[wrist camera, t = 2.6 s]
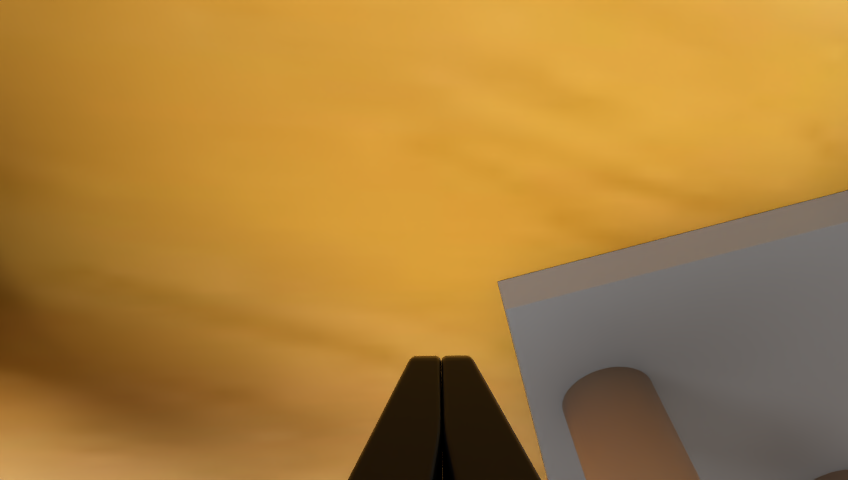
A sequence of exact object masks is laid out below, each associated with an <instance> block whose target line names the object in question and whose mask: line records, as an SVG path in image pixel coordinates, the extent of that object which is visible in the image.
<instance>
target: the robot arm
mask: <svg viewBox="0 0 848 480" xmlns="http://www.w3.org/2000/svg"><path fill="white" fill-rule="evenodd" d="M442 452H443V456H442ZM348 480H541V479H540V477H539V476H538V474H537V472H536V470H535V468H534V467H533V465H532V463H531V461H530V460H529V458H528V456H527V454H526V452H525V451H524V449H523V447H522V445H521V444H520V442H519V440H518V438H517V437H516V435H515V433H514V431H513V429H512V428H511V426H510V424H509V422H508V421H507V419H506V417H505V415H504V413H503V412H502V410H501V408H500V406H499V405H498V403H497V401H496V399H495V398H494V396H493V394H492V392H491V390H490V389H489V387H488V385H487V383H486V382H485V380H484V378H483V376H482V374H481V373H480V371H479V369H478V367H477V366H476V364H475V362H474V360H473V359H472V358H471V357H469V356H445V357H443V358H442V361H441V360H440V358H439V357H437V356H414V357H412V358H411V359H410V360H409V362H408V364H407V366H406V367H405V369H404V371H403V373H402V375H401V377H400V379H399V381H398V383H397V385H396V387H395V389H394V391H393V393H392V395H391V397H390V399H389V401H388V403H387V405H386V407H385V408H384V410H383V412H382V414H381V416H380V418H379V420H378V422H377V424H376V426H375V428H374V430H373V432H372V434H371V436H370V438H369V440H368V442H367V444H366V446H365V448H364V449H363V451H362V453H361V455H360V457H359V459H358V461H357V463H356V465H355V467H354V469H353V471H352V473H351V475H350V477H349V479H348Z"/></svg>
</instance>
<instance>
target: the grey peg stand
mask: <svg viewBox="0 0 848 480" xmlns="http://www.w3.org/2000/svg"><path fill="white" fill-rule="evenodd" d="M498 285H499V289H500V293H501V297H502V301H503V305H504V309H505V313H506V317H507V321H508V325H509V329H510V333H511V337H512V341H513V345H514V348H515V352H516V356H517V360H518V364H519V368H520V372H521V376H522V380H523V384H524V388H525V392H526V396H527V400H528V404H529V408H530V412H531V415H532V419H533V423H534V427H535V431H536V435H537V439H538V443H539V447H540V451H541V455H542V459H543V463H544V467H545V471H546V475H547V479H548V480H848V190H847V191H844V192H840V193H836V194H832V195H828V196H824V197H821V198H817V199H813V200H809V201H805V202H801V203H798V204H794V205H790V206H786V207H782V208H778V209H775V210H771V211H767V212H763V213H759V214H755V215H752V216H748V217H744V218H740V219H736V220H732V221H729V222H725V223H721V224H717V225H713V226H709V227H706V228H702V229H698V230H694V231H690V232H686V233H683V234H679V235H675V236H671V237H667V238H663V239H659V240H656V241H652V242H648V243H644V244H640V245H636V246H633V247H629V248H625V249H621V250H617V251H613V252H610V253H606V254H602V255H598V256H594V257H590V258H587V259H583V260H579V261H575V262H571V263H567V264H564V265H560V266H556V267H552V268H548V269H544V270H541V271H537V272H533V273H529V274H525V275H521V276H518V277H514V278H510V279H506V280H502V281H498Z"/></svg>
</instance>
